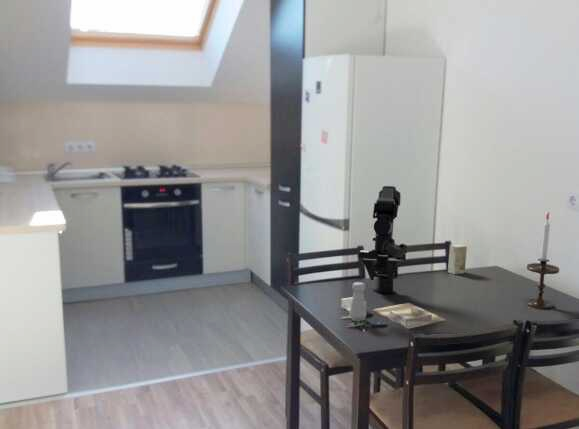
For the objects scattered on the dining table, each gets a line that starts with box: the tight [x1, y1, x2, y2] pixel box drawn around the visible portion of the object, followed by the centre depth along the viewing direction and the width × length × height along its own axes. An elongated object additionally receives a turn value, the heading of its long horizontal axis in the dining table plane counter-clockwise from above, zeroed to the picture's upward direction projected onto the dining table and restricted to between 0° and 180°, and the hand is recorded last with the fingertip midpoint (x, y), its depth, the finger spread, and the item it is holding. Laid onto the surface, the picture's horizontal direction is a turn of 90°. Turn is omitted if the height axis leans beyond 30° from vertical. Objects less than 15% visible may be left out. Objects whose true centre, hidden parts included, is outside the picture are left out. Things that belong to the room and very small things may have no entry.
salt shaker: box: [348, 281, 367, 322], centre depth 200 cm, size 6×6×13 cm
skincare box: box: [447, 243, 468, 275], centre depth 259 cm, size 6×4×12 cm
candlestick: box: [526, 211, 560, 310], centre depth 215 cm, size 11×11×35 cm
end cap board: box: [372, 302, 446, 329], centre depth 205 cm, size 19×16×3 cm
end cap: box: [340, 296, 367, 312], centre depth 212 cm, size 6×7×3 cm
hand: (381, 280), depth 209 cm, fingers open, 9 cm apart
